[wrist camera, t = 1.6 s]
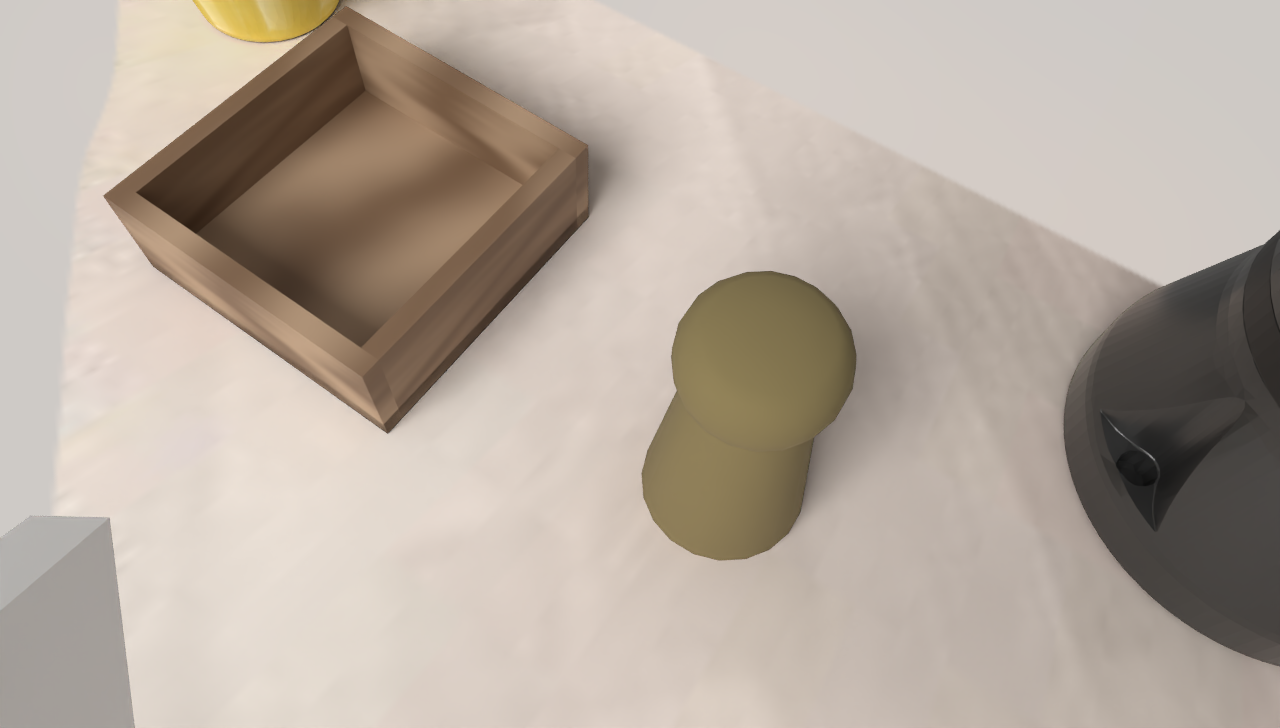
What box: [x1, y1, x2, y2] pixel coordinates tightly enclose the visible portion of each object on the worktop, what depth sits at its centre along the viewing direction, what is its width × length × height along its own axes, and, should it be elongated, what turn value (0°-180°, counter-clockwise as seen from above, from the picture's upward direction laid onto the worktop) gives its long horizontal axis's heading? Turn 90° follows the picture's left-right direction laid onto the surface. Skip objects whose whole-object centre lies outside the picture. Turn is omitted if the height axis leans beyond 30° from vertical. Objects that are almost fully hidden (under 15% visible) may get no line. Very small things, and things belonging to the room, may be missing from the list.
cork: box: [642, 271, 856, 560], centre depth 30 cm, size 6×6×11 cm
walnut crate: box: [104, 6, 588, 433], centre depth 37 cm, size 13×13×4 cm
